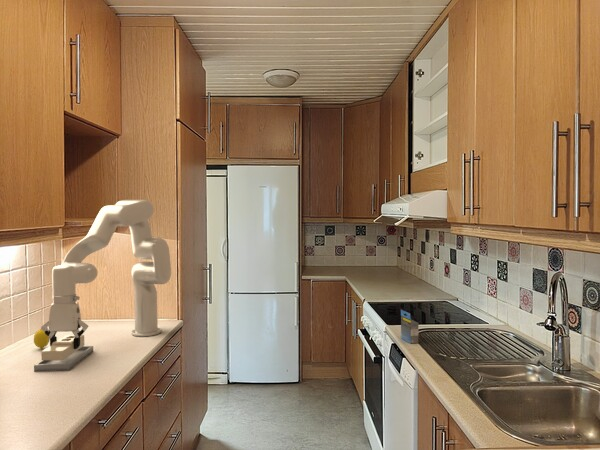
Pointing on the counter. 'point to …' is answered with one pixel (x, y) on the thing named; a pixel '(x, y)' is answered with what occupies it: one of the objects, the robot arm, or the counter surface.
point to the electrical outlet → (61, 348)
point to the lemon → (41, 339)
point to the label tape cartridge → (408, 328)
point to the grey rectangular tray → (64, 361)
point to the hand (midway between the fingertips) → (65, 347)
